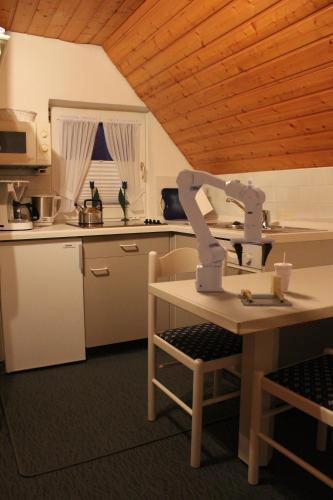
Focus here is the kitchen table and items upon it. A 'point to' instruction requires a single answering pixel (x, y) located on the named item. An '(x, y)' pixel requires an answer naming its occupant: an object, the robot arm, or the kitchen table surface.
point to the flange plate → (266, 302)
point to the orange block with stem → (276, 286)
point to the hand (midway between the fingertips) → (251, 265)
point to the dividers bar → (256, 295)
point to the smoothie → (283, 273)
